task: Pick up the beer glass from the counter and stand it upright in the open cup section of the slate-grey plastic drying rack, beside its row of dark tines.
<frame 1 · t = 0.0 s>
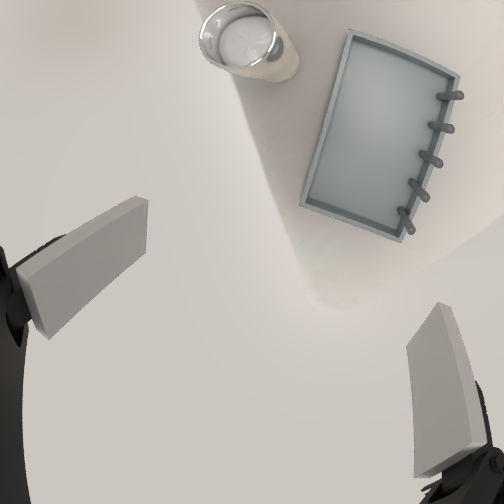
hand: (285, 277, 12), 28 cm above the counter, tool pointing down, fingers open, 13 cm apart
drying rack: (379, 134, 32), on the counter
beer glass: (276, 61, 31), on the counter
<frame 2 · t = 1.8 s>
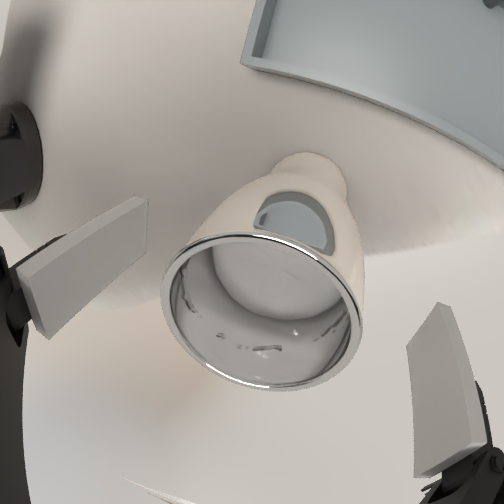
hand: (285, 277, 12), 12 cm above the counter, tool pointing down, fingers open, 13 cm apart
drying rack: (430, 36, 13), on the counter
beer glass: (307, 190, 22), on the counter
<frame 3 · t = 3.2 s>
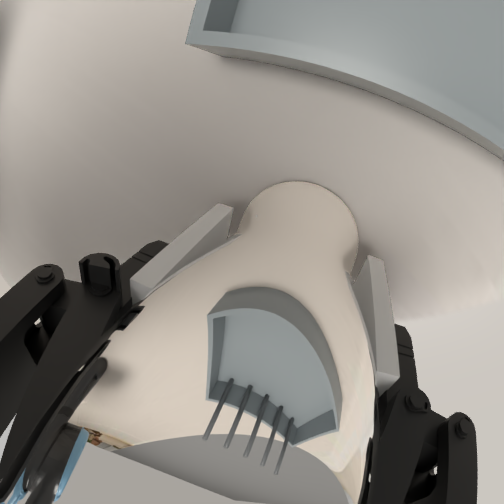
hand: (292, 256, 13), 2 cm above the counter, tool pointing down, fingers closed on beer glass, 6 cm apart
drying rack: (479, 13, 6), on the counter
beer glass: (299, 237, 15), on the counter, touching gripper
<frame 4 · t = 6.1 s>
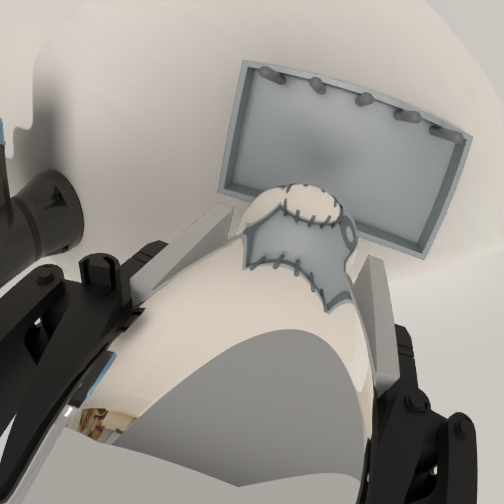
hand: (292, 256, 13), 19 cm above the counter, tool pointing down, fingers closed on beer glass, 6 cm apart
drying rack: (345, 153, 28), on the counter
beer glass: (299, 237, 15), point 17 cm above the counter, touching gripper
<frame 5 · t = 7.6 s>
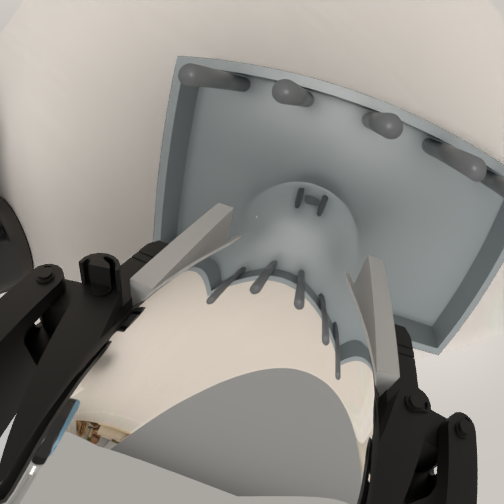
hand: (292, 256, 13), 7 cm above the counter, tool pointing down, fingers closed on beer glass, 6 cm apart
drying rack: (341, 201, 19), on the counter
beer glass: (299, 237, 15), point 5 cm above the counter, touching gripper
when the fingers open (4 cm above the counter, at t = 8.8 s): beer glass stays where it is, resting on drying rack.
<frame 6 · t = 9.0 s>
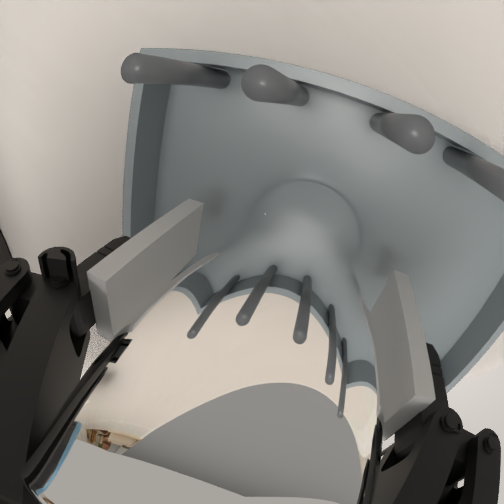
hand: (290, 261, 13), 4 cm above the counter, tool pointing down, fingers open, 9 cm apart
drying rack: (342, 222, 15), on the counter
beer glass: (304, 234, 16), point 1 cm above the counter, touching drying rack
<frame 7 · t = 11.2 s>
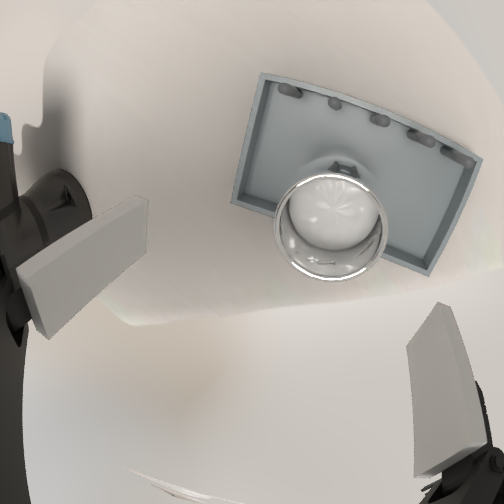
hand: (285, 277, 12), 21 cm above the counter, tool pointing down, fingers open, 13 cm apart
drying rack: (357, 169, 28), on the counter
beer glass: (337, 174, 29), point 1 cm above the counter, touching drying rack
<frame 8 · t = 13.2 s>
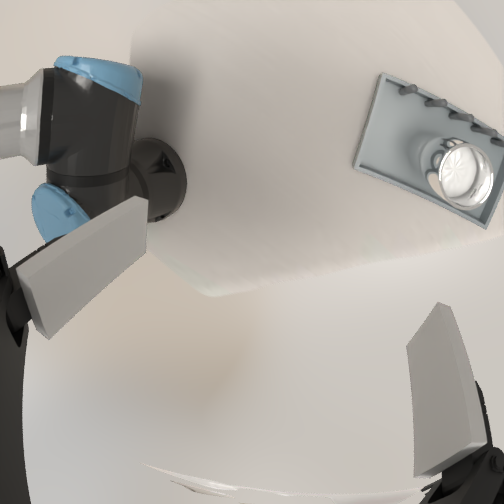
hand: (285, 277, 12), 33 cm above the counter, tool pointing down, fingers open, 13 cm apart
drying rack: (437, 150, 34), on the counter
beer glass: (426, 153, 34), point 1 cm above the counter, touching drying rack
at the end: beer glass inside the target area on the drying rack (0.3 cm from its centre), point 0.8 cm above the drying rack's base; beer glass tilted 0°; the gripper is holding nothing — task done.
